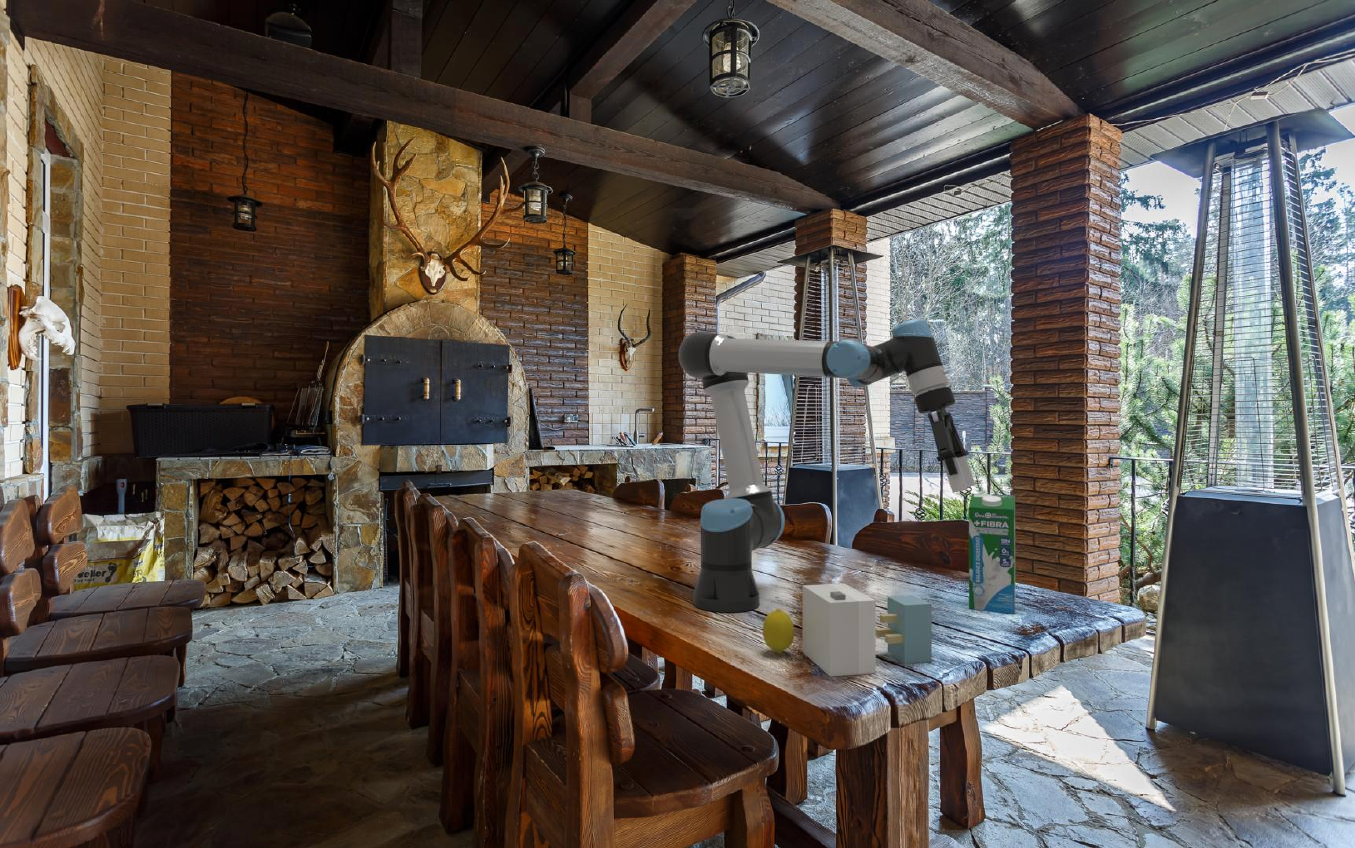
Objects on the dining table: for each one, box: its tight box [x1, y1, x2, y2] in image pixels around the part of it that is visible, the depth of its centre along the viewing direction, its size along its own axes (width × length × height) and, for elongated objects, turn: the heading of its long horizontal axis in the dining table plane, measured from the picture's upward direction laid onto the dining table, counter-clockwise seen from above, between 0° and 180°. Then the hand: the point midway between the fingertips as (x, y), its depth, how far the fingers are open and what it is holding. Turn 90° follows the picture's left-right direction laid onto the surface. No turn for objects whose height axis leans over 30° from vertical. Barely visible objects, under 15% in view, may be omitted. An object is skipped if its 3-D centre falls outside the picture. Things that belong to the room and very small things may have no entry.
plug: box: [876, 594, 933, 665], centre depth 118 cm, size 6×8×10 cm
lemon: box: [762, 608, 795, 655], centre depth 120 cm, size 6×6×8 cm
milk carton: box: [968, 492, 1016, 615], centre depth 151 cm, size 9×9×25 cm
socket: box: [802, 583, 877, 678], centre depth 116 cm, size 12×8×13 cm, turn 11°
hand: (964, 489), depth 137 cm, fingers open, 13 cm apart
